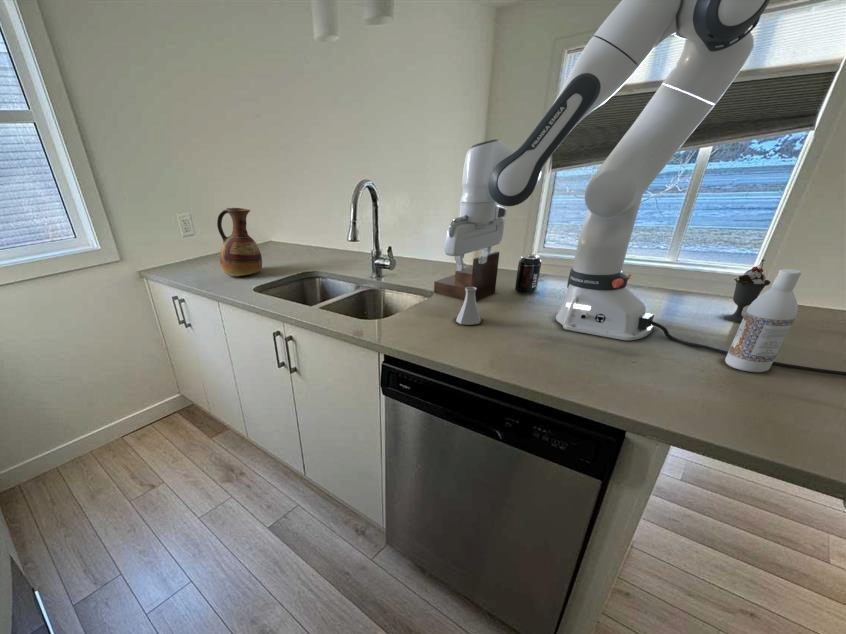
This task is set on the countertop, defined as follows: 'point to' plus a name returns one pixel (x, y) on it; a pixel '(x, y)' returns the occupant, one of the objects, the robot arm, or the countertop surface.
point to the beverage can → (528, 274)
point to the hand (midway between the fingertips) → (471, 266)
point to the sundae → (747, 291)
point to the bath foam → (765, 325)
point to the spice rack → (471, 279)
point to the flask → (469, 309)
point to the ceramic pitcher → (238, 246)
